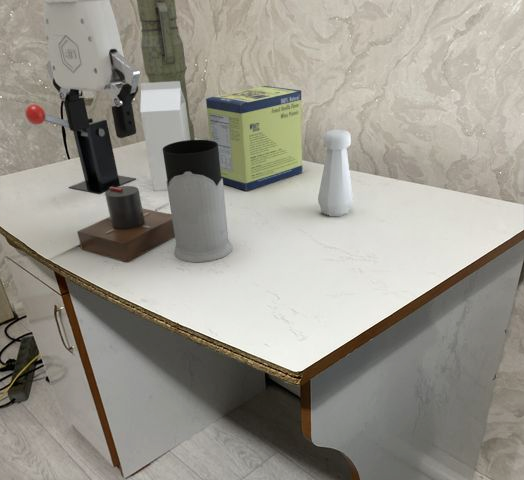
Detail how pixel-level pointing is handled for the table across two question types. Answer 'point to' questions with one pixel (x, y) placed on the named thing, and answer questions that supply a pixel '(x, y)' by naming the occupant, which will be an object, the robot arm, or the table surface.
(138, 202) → the dial
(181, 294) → the table surface
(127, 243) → the dial panel
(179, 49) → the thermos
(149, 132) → the milk carton
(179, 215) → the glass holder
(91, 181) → the lever bracket
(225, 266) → the table surface
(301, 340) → the table surface
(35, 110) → the lever
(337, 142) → the salt shaker
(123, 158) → the table surface
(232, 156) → the protein box
